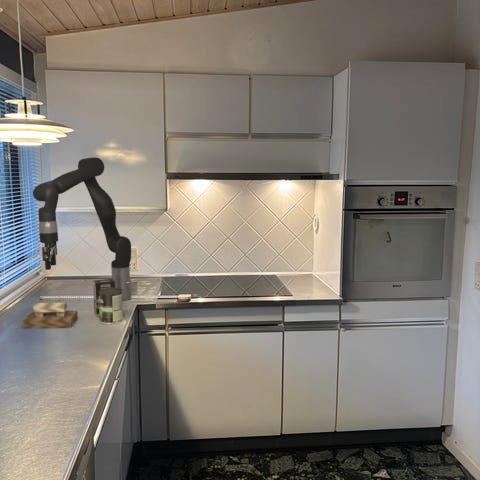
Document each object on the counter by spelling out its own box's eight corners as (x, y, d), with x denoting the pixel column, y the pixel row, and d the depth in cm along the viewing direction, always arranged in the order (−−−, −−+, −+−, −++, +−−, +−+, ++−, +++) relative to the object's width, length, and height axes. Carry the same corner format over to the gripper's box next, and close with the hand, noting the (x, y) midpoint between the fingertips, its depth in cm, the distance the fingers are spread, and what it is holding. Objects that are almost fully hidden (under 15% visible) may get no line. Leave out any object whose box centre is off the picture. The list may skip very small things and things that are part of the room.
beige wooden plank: (67, 319, 216) (66, 302, 214) (65, 322, 212) (64, 305, 210) (37, 320, 214) (36, 303, 213) (34, 323, 210) (33, 305, 209)
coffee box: (96, 317, 223) (95, 283, 220) (93, 313, 229) (92, 280, 226) (116, 314, 227) (115, 281, 225) (113, 310, 233) (112, 278, 230)
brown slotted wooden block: (77, 318, 220) (77, 310, 219) (71, 327, 208) (70, 318, 208) (32, 319, 218) (31, 311, 218) (23, 328, 206) (22, 319, 206)
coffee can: (101, 325, 211) (100, 294, 209) (98, 318, 221) (97, 288, 219) (125, 322, 215) (124, 292, 213) (121, 316, 225) (120, 286, 223)
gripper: (52, 233, 203) (55, 271, 206) (61, 228, 217) (63, 263, 220) (34, 233, 202) (37, 271, 205) (44, 228, 216) (46, 264, 219)
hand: (51, 267), depth 213 cm, fingers open, 8 cm apart
